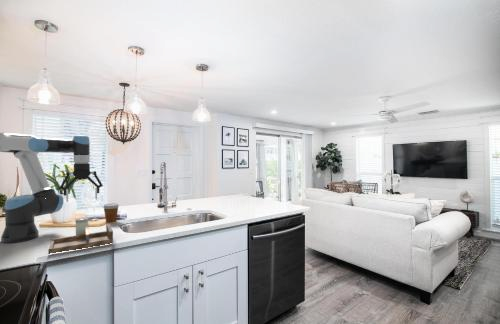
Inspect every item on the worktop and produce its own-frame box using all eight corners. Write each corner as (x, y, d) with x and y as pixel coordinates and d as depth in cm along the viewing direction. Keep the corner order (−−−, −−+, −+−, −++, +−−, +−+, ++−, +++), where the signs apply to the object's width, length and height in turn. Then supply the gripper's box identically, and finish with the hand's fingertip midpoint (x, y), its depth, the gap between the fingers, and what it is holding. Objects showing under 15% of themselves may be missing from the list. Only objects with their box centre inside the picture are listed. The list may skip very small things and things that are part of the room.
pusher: (86, 245, 121) (86, 234, 121) (85, 237, 133) (85, 227, 132) (88, 245, 122) (88, 234, 122) (88, 237, 133) (88, 227, 133)
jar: (75, 238, 135) (75, 221, 135) (75, 235, 140) (75, 218, 140) (89, 236, 139) (88, 219, 138) (88, 233, 144) (88, 217, 144)
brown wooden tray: (48, 255, 112) (48, 240, 112) (51, 244, 126) (51, 231, 125) (112, 244, 127) (112, 231, 127) (109, 235, 141) (109, 223, 140)
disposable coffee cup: (101, 223, 164) (101, 206, 164) (105, 220, 174) (105, 203, 173) (116, 223, 167) (116, 205, 167) (120, 219, 176) (120, 203, 176)
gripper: (53, 163, 128) (53, 203, 129) (107, 162, 142) (108, 199, 143) (54, 163, 134) (54, 201, 135) (106, 162, 149) (106, 197, 149)
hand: (82, 200), depth 139 cm, fingers open, 13 cm apart
